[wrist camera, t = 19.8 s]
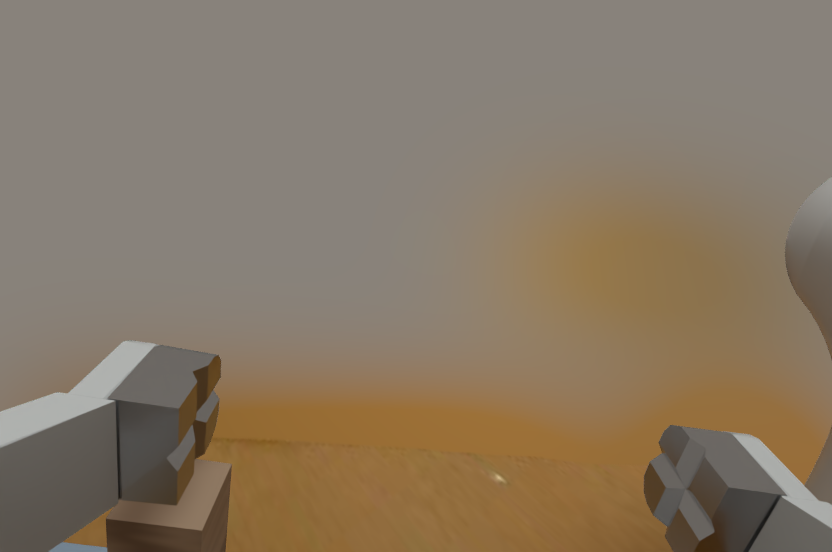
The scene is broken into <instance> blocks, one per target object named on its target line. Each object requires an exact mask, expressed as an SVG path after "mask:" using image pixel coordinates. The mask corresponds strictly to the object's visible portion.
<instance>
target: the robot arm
mask: <svg viewBox="0 0 832 552" xmlns="http://www.w3.org/2000/svg"><path fill="white" fill-rule="evenodd" d="M785 261H786V268H787V272H788V276H789V279H790V281H791V284H792V286H793V288H794V290H795V292H796V294H797V295H798V296H799V298H800V299H801V300H802V302H803V303H804V304H805V306H806V307H807V308H808V310H809V311H810V313H811V314H812V316H813V318H814V319H815V321H816V322H817V324H818V326H819V328H820V330H821V332H822V335H823V337H824V339H825V341H826V344H827V347H828V350H829V353H830V355H831V359H832V177H831V178H829V179H828V180H827V181H825V182H824V183H823V184H821V185H820V186H819V187H818V188H817V189H816V190H815V191H814V192H813V193H812V194H811V195H810V196H809V197H808V198H807V199H806V201H805V202H804V203H803V204H802V206H801V207H800V208H799V210H798V212H797V213H796V215H795V217H794V219H793V221H792V223H791V226H790V228H789V231H788V235H787V239H786V247H785ZM220 378H221V359H220V357H219V355H216V354H210V353H204V352H198V351H193V350H187V349H181V348H175V347H170V346H164V345H157V344H153V343H146V342H139V341H132V340H130V341H124V342H122V343H121V344H120V345H119V346H118V347H117V348H116V349H114V350H113V351H112V352H111V353H110V354H109V355H108V356H107V357H106V358H105V359H104V360H103V361H102V362H101V363H100V364H99V365H97V366H96V367H95V368H94V369H93V370H92V371H91V372H90V373H89V374H88V375H87V376H86V377H85V378H84V379H83V380H82V381H81V382H79V383H78V384H77V385H76V386H75V387H74V388H73V389H72V390H71V391H70V392H69V393H68V394H66V393H59V392H57V393H54V394H51V395H48V396H45V397H42V398H39V399H36V400H33V401H30V402H28V403H25V404H22V405H18V406H16V407H13V408H10V409H7V410H4V411H1V412H0V552H48V551H50V550H51V549H53V548H54V547H56V546H57V545H58V544H60V543H61V542H63V541H64V540H66V539H67V538H69V537H70V536H72V535H73V534H74V533H76V532H77V531H79V530H80V529H82V528H83V527H85V526H86V525H88V524H89V523H90V522H92V521H93V520H95V519H96V518H98V517H99V516H101V515H102V514H103V513H105V512H106V511H108V510H109V509H111V508H112V507H114V506H115V505H117V504H118V502H119V500H124V501H134V502H145V503H155V504H165V505H175V506H177V504H178V502H179V500H180V499H181V497H182V495H183V493H184V491H185V489H186V487H187V486H188V484H189V482H190V480H191V478H192V476H193V474H194V462H195V459H196V458H198V457H200V456H201V455H203V454H205V452H206V450H207V448H208V446H209V444H210V442H211V439H212V436H213V433H214V430H215V427H216V422H217V417H218V411H219V398H218V396H217V395H216V393H215V392H214V391H213V389H214V388H215V386H216V384H217V382H218V381H219V379H220ZM659 445H660V448H661V451H662V454H660V455H659V456H657V457H656V458H654V459H653V460H652V461H650V463H649V465H648V468H647V470H646V473H645V475H644V494H645V498H646V502H647V504H648V506H649V508H650V510H651V512H652V514H653V515H654V516H655V517H656V518H657V519H659V520H660V521H661V522H662V523H663V524H665V525H666V526H667V529H666V534H665V537H666V539H667V541H668V543H669V544H670V546H671V548H672V550H673V551H674V552H832V427H831V430H830V433H829V435H828V438H827V440H826V442H825V445H824V447H823V449H822V451H821V454H820V456H819V458H818V460H817V462H816V464H815V466H814V468H813V470H812V472H811V474H810V476H809V478H808V479H807V481H806V483H805V485H803V484H802V483H801V482H800V481H799V480H798V479H797V478H796V477H795V476H794V475H793V474H792V473H791V472H790V471H789V470H788V469H787V468H786V467H785V466H784V464H783V463H782V462H781V461H780V460H779V459H778V458H777V457H776V456H775V455H774V454H773V453H772V452H771V451H770V450H769V449H768V448H767V447H766V446H765V445H764V444H763V443H762V442H761V441H760V440H759V439H758V438H755V437H753V436H751V435H749V434H740V433H732V432H721V431H712V430H705V429H698V428H690V427H683V426H674V425H670V426H669V427H668V428H667V429H666V430H665V431H664V433H663V434H662V436H661V439H660V441H659Z"/></svg>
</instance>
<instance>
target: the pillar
mask: <svg viewBox="0 0 832 552" xmlns="http://www.w3.org/2000/svg"><path fill="white" fill-rule="evenodd" d="M231 467H232V464H228V463H220V462H213V461H206V460H198V459H195V462H194V474H193V476H192V478H191V480H190V482H189V484H188V486H187V487H186V489H185V491H184V493H183V495H182V497H181V499H180V500H179V502H178V504H177V506H175V505H165V504H155V503H145V502H134V501H124V500H119V502H118V504H117V505H115V506H114V507H113V509H112V510H111V512H110V513H109V515H108V516H107V518H106V532H107V552H225V549H226V536H227V522H228V508H229V495H230V481H231Z"/></svg>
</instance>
